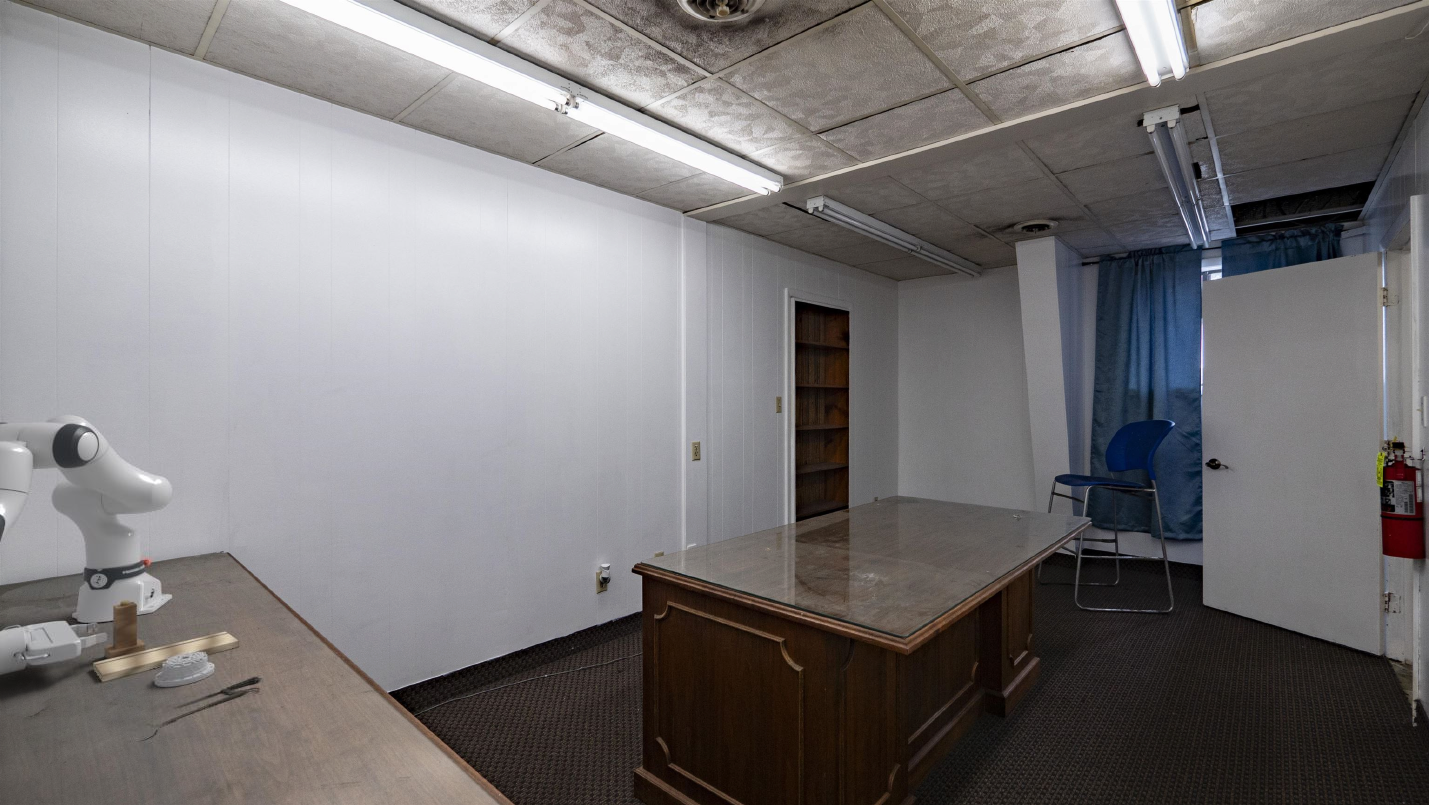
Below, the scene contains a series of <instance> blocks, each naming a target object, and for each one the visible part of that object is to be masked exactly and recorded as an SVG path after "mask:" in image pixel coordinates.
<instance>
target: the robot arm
mask: <svg viewBox="0 0 1429 805" xmlns="http://www.w3.org/2000/svg"><path fill="white" fill-rule="evenodd" d="M37 469H38V470H41V469H42V470H43V469H44V470H46V469H58V471H59V472H60V473H61V474H62V475H63V477H64V478H65V479H63V480H61V481H60V482H59V483H58V484H56V486H55V487H54V489H53V491H52V493H51V503H52V505H53V508H55V510H56V511H57V512H59V513H60V514H62V515H63V516H66V517H68V518H69V519H70V520H71V521H72V522H74V524H75V525H76V527H78V528H79V531H80V533H81V534H82V538H83V539H84V548H85V567H84V568H83V573H82V575H83V581H84V583H83V584H82V585H81V586H80V587H79V589H78V590H79V591H78V599H77V608H76V612H73V613H72V614H71V618H73V619H76V621H77V622H80V624H74V625H73V624H72V625H69V623H68V622H67V621H66V620H54V621H49V622H41V623H35V624H29V625H24V626H21V625H19V624H15V625H11V626H7V627H5V628H4V629H2V630H0V676H1V675H5V674H9V673H13V672H19V671H22V670H25V669H26V667H27V666H26V665H27V663H28V664H29V665H31V666H40V665H46V664H53V663H56V662H61V661H67V660H70V659H71V660H72V659H74V658H77V657H80V656H81V654H82V649H87V648H89V647H91V646H93V645H96V644H99V643H103V642H106V641H107V640H108V634H107V633H106V632H103V631H102V632H98V631H99V630H100V628H99V626H100V625H99V624H98V623H103V622H111V621H112V622H113V605H119V604H120V602H122V601H130V602H134V603H136V604H137V616H140V615H145V614H151V613H154V612H155V611H156V610H158V609H159V608H161V607H162V606H163V605H165V604H166V603H168V601H170V600H171V599H173V594H169V593H162V582H161V581H160V579H158V578H156V577H154V576H152V575H151V574H149V573H147V571H146V568H145V567H146V566H147V567H149V566H150V565H151V563H152V561H151V559H150V558H142V546H141V545H142V537H141V534H140V533H139V532H138V530H137V529H134V528H133V527H131V526H128V525H126V524H124V523H123V522H122V521H121V520H120V519H119V517H118V515H135V514H137V515H138V514H145V513H146V514H147V513H151V512H157V511H161V510H163V509H164V508H165V507H167V505H168V504H170V501H171V500H172V497H173V493H174V492H173V490H174V489H173V486H172V484H171V482H170V480H168V479H167V478H166V477H164V476H161V475H157V474H153V473H150V472H147V471H145V470H143V469H141V468H138V467H137V466H134V465H133V464H131V463H129V462H128V461H126V460H125V459H124V458H122V457H120V456H119V454H118V453H117V452H116V451H115V450H114V448H113V447H112V445H110V443H109V442H108V440H107V439H106V438H105V436H104V435H103V434H102V433H101V431H99V429H98V428H96V427H95V426H94V425H93V424H92V423H90V422H89V421H88V420H86V419H85V418H83V417H81V416H78V415H75V414H74V415H73V414H64V415H63V414H62V415H61V414H60V415H58V416H54V417H52V418H50V419H48V420H46V421H34V422H33V421H31V422H30V421H29V422H28V421H27V422H3V421H1V422H0V545H1V544H2V542H3V541H4V538H6V536H7V534H8V533H9V532H10V531H11V530H12V528H13V527H14V525H15V524H16V523H17V521H18V519H19V518H20V516H21V513H22V511H23V510H24V507H25V505H26V502H27V500H28V496H29V493H30V489H31V484H32V479H33V474H34V473H33V472H34V471H33V470H37ZM81 623H82V624H81ZM84 623H85V624H84ZM87 623H88V624H87ZM97 632H98V633H97ZM92 633H94V634H93V635H89V636H82V637H79V636H78V635H81V634H92Z"/></svg>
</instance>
